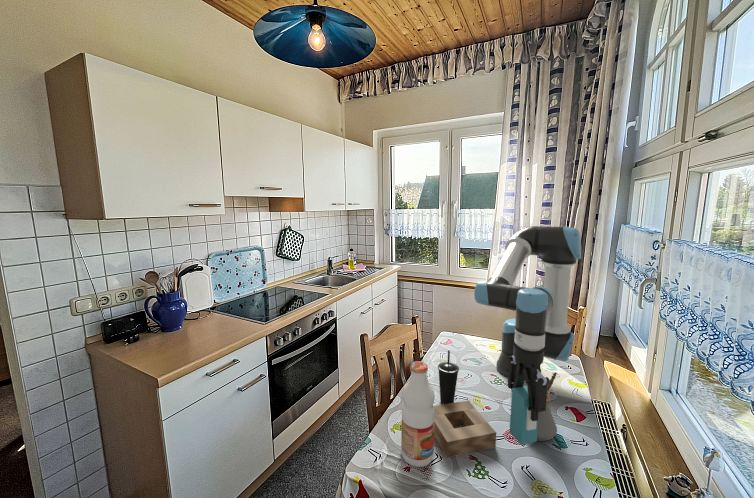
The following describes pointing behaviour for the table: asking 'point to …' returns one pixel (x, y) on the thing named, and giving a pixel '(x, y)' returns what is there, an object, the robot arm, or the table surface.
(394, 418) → the table surface
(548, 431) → the coffee pot
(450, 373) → the drinking cup
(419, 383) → the fruit juice
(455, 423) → the socket block
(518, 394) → the peg
